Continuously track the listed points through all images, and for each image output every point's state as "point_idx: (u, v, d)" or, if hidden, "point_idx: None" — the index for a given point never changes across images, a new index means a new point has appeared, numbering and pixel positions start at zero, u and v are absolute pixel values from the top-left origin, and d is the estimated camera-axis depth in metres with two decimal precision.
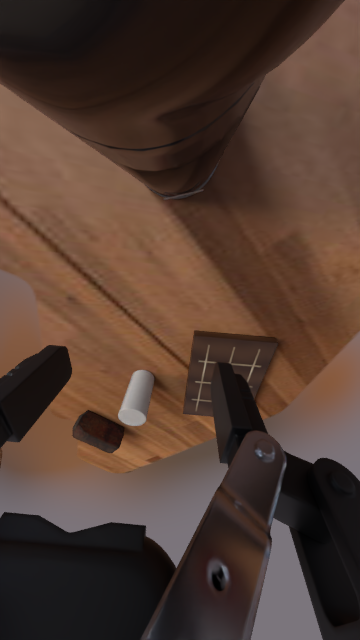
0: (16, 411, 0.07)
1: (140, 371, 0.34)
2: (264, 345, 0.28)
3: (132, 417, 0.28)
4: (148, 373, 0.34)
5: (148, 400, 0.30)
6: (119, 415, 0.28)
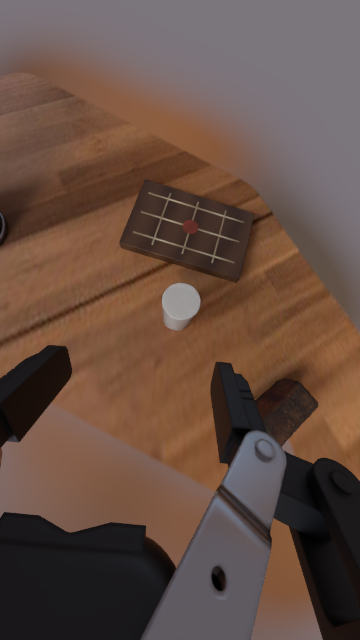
0: (16, 411, 0.07)
1: None
2: (144, 189, 0.31)
3: (180, 299, 0.21)
4: None
5: None
6: (173, 315, 0.20)
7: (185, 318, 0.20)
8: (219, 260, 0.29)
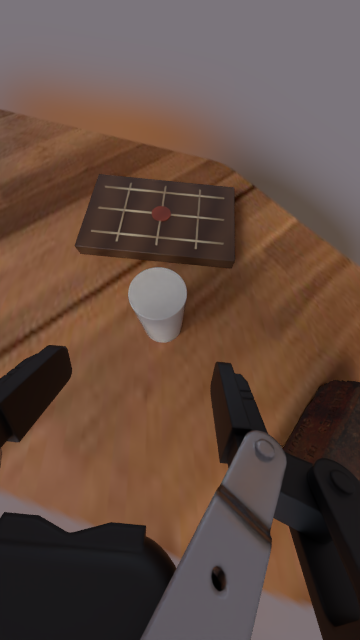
0: (16, 411, 0.07)
1: None
2: (100, 183, 0.26)
3: (156, 291, 0.14)
4: None
5: None
6: (149, 315, 0.13)
7: (168, 316, 0.13)
8: (204, 244, 0.23)
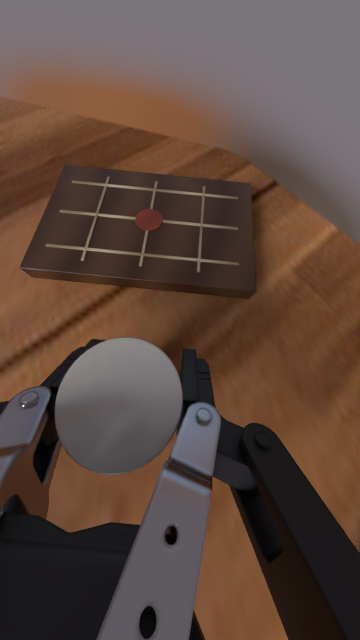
0: None
1: None
2: (65, 177, 0.19)
3: (116, 396, 0.06)
4: None
5: None
6: (95, 464, 0.06)
7: (139, 464, 0.06)
8: (211, 265, 0.16)
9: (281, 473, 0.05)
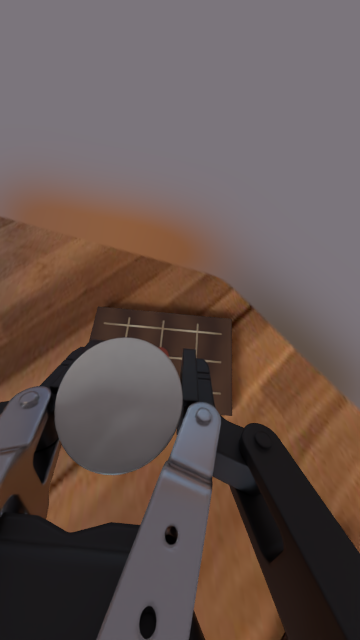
0: None
1: None
2: (99, 319, 0.26)
3: (116, 396, 0.06)
4: None
5: None
6: (95, 464, 0.06)
7: (139, 465, 0.06)
8: None
9: (281, 473, 0.05)
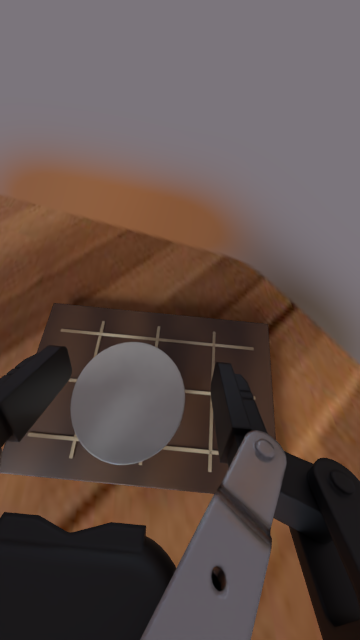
0: (16, 411, 0.07)
1: None
2: (54, 323, 0.16)
3: (125, 395, 0.07)
4: None
5: None
6: (108, 456, 0.06)
7: (146, 456, 0.06)
8: None
9: None
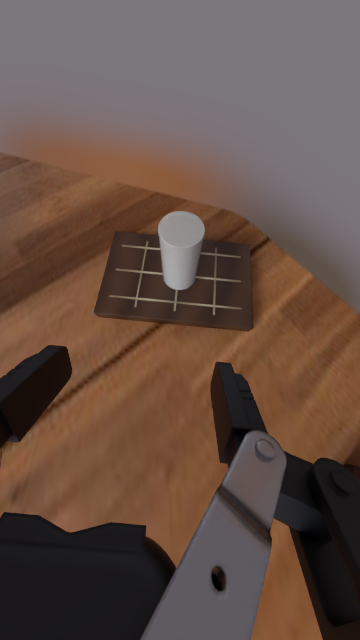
0: (16, 411, 0.07)
1: None
2: (117, 242, 0.26)
3: (180, 227, 0.17)
4: None
5: None
6: (175, 244, 0.16)
7: (190, 245, 0.16)
8: (222, 309, 0.23)
9: None
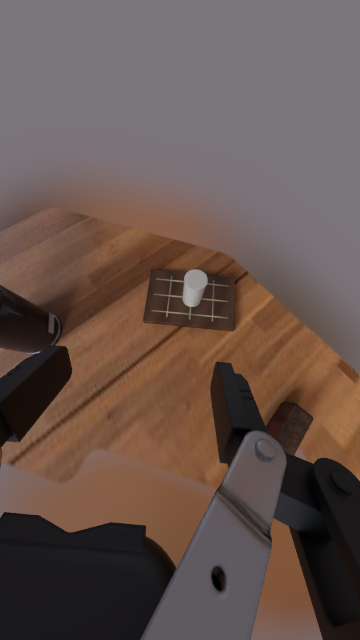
0: (16, 411, 0.07)
1: (182, 297, 0.41)
2: (153, 276, 0.43)
3: (195, 279, 0.34)
4: None
5: None
6: (193, 288, 0.33)
7: (200, 288, 0.33)
8: (217, 318, 0.40)
9: None
